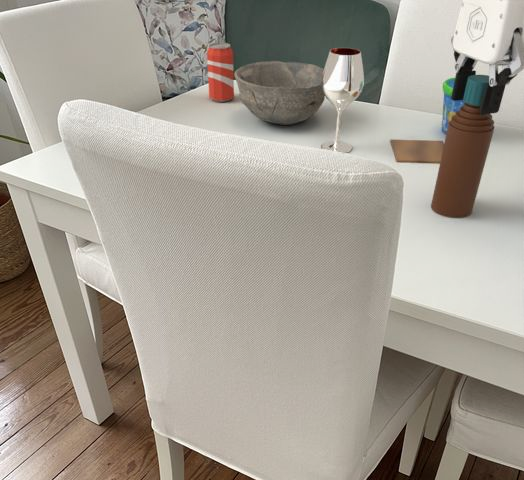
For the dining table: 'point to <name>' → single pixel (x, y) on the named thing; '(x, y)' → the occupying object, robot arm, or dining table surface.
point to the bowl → (281, 90)
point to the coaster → (417, 150)
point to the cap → (475, 89)
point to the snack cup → (449, 104)
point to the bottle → (462, 162)
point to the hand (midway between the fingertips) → (474, 105)
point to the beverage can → (220, 72)
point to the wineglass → (342, 87)
